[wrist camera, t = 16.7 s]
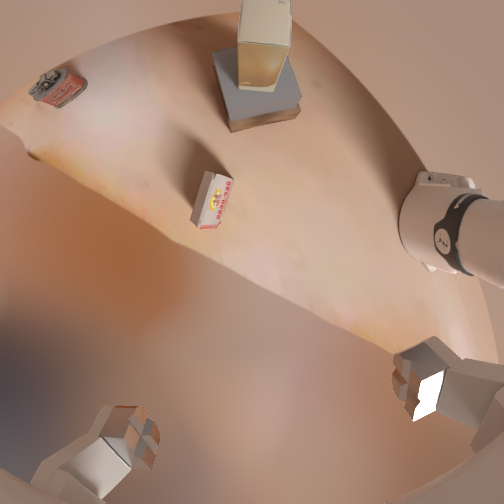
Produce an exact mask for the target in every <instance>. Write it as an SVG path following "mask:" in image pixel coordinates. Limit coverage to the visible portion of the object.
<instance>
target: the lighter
mask: <svg viewBox="0 0 504 504" xmlns="http://www.w3.org/2000/svg"><path fill="white" fill-rule="evenodd" d="M87 84H88V83H87V81H86V80H85V79H83V78H82V79H81V78H80V77H78V76H76V75H74V74H73V73H71V72H69V71H68V70H67V69H66V68H61V69H59V70H57V71H55V70H53V69H52V70H51V71H50V72H48V73H47V74H43V75H42V76H41V77H40V80H39V81H38V82H36V83H35V84H34V85H33V86H32V87H31V88H30V89H29V90H28V94H29V95H33V99H34V100H35V101H42V102H45V103H47V104H50V105H53V106H54V107H56V108H61V107H63V106H65V105H66V104H68V103H69V102H71V101H72V100H74V99H75V98H76V97H77V96H79V95H80V94H81V93H82V92H83V91H84V90H85V89H86V87H87Z"/></svg>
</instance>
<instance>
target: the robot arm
mask: <svg viewBox="0 0 504 504" xmlns="http://www.w3.org/2000/svg"><path fill="white" fill-rule="evenodd" d="M428 177H429V180H428ZM399 231H400V237H401V240H402V243H403V245H404V247H405V249H406V250H407V252H408V253H409V254H410V255H411V256H412V257H414V258H415V259H417V260H420V261H421V262H423V264H424V266H425V267H426V268H427V269H428V270H429V271H435V270H437V269H440V270H443V271H446V272H449V273H452V274H455V273H456V272H460V273H462V274H466V275H469V276H477V277H479V278H481V279H483V280H485V281H487V282H489V283H491V284H493V285H495V286H497V287H499V288H503V289H504V201H500V200H490V199H488V198H487V197H486V196H485V194H484V192H483V191H482V190H481V189H476V188H475V185H474V183H473V181H472V179H471V178H468V177H463V176H456V175H449V174H442V173H434V172H427V171H421V172H419V174H418V176H417V179H416V182H415V186H414V188H413V189H412V190H411V192H410V193H409V194H408V196H407V197H406V199H405V201H404V203H403V205H402V209H401V212H400V219H399ZM393 364H394V366H395V367H396V369H395V370H394V372H393V373H392V385H393V389H394V391H395V394H396V395H397V397H398V398H399V399H400V400H403V401H405V407H404V408H405V409H406V411H407V413H408V414H409V416H410V417H411V419H412V420H413V421H414V420H416V419H418V418H420V417H423V416H425V415H427V414H429V413H431V412H433V411H435V410H436V412H438V413H440V414H442V415H445V416H447V417H449V418H451V419H454V420H456V421H458V422H461V423H463V424H465V425H468V426H470V427H473V428H475V429H477V432H476V434H475V435H474V437H473V439H472V441H471V444H470V446H471V447H472V449H473V450H474V452H475V454H474V455H473V456H471V457H470V458H468V459H467V460H466V461H464V462H463V463H461V464H460V465H458V466H457V467H455V468H453V469H452V470H450V471H449V472H447V473H445V474H444V475H442V476H440V477H438V478H437V479H435V480H433V481H431V482H429V483H428V484H426V485H424V486H422V487H420V488H418V489H416V490H414V491H412V492H410V493H408V494H406V495H403V496H401V497H399V498H397V499H394V500H392V501H390V502H387V503H385V504H504V365H499V364H493V363H488V362H482V361H477V360H472V359H467V358H465V359H464V360H462V359H461V358H460V357H458V356H457V355H456V354H455V353H454V352H453V351H452V350H451V349H450V348H449V347H447V346H446V345H445V344H444V343H443V342H442V341H441V340H440V339H438V338H437V337H435V336H432V337H430V338H428V339H426V340H424V341H422V342H421V343H418V344H416V345H413V346H411V347H409V348H407V349H404V350H402V351H400V352H397V353H395V354H394V357H393ZM159 442H160V432H159V429H158V427H157V425H156V424H155V422H153V421H152V420H150V419H149V418H148V412H147V411H146V410H145V408H144V407H141V406H120V405H117V406H113V405H106V406H104V407H103V408H102V409H101V411H100V413H99V415H98V416H97V418H96V420H95V422H94V423H93V425H92V427H91V429H90V431H89V432H88V434H87V435H83V436H81V437H80V438H78V439H77V440H75V441H74V442H72V443H71V444H69V445H68V446H66V447H64V448H63V449H61V450H60V451H58V452H57V453H55V454H53V455H52V456H50V457H49V458H47V459H45V460H44V461H42V462H41V464H40V466H39V468H38V469H37V471H36V473H35V475H34V476H33V478H32V480H31V482H30V484H27V483H25V482H23V481H21V480H20V479H18V478H16V477H15V476H13V475H11V474H10V473H8V472H6V471H5V470H3V469H2V468H0V504H107V503H105V502H103V501H102V500H101V499H102V498H103V497H104V496H105V495H106V494H107V493H108V492H109V491H111V489H113V488H114V486H115V485H117V484H118V483H119V482H120V481H121V480H122V479H123V478H124V476H126V475H127V473H128V472H129V471H130V470H131V468H132V469H145V470H152V468H153V464H154V461H155V457H156V455H155V453H154V450H155V449H156V448H157V447H158V446H159Z"/></svg>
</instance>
